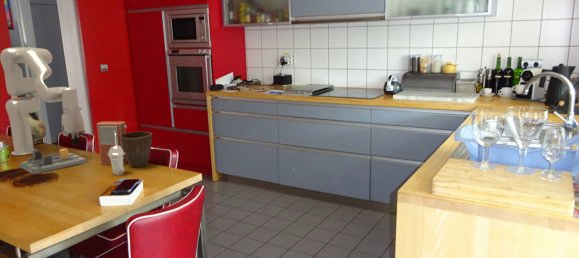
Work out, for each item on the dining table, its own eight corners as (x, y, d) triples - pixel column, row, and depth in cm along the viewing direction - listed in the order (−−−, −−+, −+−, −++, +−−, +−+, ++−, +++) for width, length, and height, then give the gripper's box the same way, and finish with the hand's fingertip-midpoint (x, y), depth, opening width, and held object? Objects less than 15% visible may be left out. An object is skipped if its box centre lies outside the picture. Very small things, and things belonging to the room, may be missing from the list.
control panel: (104, 161, 231) (131, 161, 229) (97, 164, 224) (125, 165, 223) (100, 121, 227) (127, 121, 225) (93, 123, 220) (121, 123, 218)
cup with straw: (106, 176, 205) (101, 134, 201) (114, 170, 214) (110, 130, 210) (123, 176, 204) (119, 134, 200) (131, 170, 213) (127, 130, 209)
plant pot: (144, 170, 213) (142, 138, 210) (117, 169, 216) (114, 137, 213) (159, 162, 227) (157, 132, 224) (133, 160, 230) (130, 131, 227)
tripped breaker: (58, 158, 229) (57, 149, 228) (68, 156, 232) (67, 148, 232) (61, 160, 226) (59, 151, 225) (71, 158, 230) (70, 149, 229)
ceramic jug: (13, 145, 270) (6, 97, 264) (34, 140, 284) (27, 94, 278) (34, 147, 265) (28, 98, 259) (55, 141, 279) (49, 94, 273)
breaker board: (19, 166, 224) (17, 153, 222) (71, 156, 242) (70, 143, 241) (33, 174, 209) (31, 160, 208) (88, 162, 228) (86, 150, 226)
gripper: (82, 108, 236) (87, 141, 240) (53, 112, 226) (58, 147, 229) (88, 109, 231) (93, 143, 235) (58, 113, 221) (63, 149, 224)
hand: (75, 145), depth 232 cm, fingers closed
